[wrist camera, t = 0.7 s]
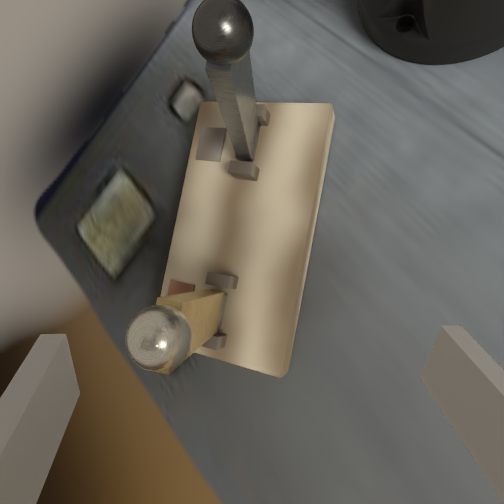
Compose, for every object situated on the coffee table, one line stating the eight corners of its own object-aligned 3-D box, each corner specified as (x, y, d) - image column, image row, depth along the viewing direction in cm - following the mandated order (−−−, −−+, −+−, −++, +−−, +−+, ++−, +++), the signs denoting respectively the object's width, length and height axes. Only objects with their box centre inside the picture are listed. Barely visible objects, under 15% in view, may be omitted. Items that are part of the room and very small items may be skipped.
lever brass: (236, 293, 29) (190, 310, 14) (228, 331, 28) (173, 391, 14) (203, 286, 29) (122, 296, 14) (195, 324, 29) (105, 376, 14)
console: (335, 118, 30) (329, 91, 26) (288, 371, 29) (274, 383, 25) (212, 114, 35) (191, 90, 30) (166, 336, 33) (138, 341, 29)
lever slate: (268, 128, 29) (258, -24, 15) (261, 165, 29) (242, 49, 14) (236, 123, 30) (193, -32, 15) (228, 160, 30) (177, 40, 15)
